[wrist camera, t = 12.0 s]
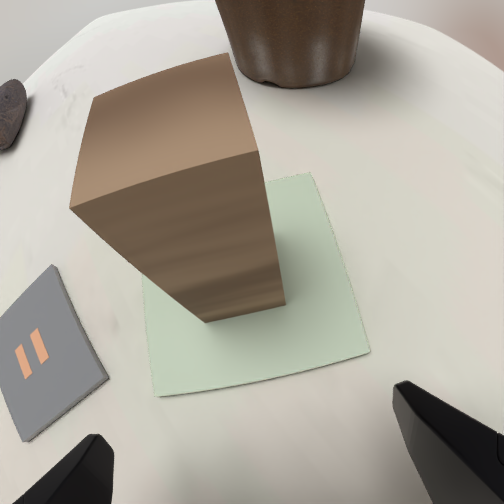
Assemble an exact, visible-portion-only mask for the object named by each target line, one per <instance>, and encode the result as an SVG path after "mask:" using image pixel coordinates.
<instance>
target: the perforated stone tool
mask: <svg viewBox="0 0 504 504" xmlns="http://www.w3.org/2000/svg"><path fill="white" fill-rule="evenodd" d="M26 104H27V96H26V90H25V88H24V86H23V84H22V83H21V82H20V81H18V80H16V79H13V80H9V81H7V82H6V83H4V84H3V85H2V86H0V150H4V149H5V148H8V147H10V145H11V144H12V142H13V140H14V139H15V137H16V135H17V133H18V131H19V129H20V126H21V123H22V120H23V117H24V113H25V109H26Z"/></svg>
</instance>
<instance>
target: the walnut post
mask: <svg viewBox="0 0 504 504" xmlns="http://www.w3.org/2000/svg"><path fill="white" fill-rule="evenodd" d="M69 208H70V209H71V210H72V211H73V212H74V213H75V214H76V215H77V216H78V217H79V218H80V219H81V220H82V221H83V222H84V223H85V224H87V225H88V226H89V227H90V228H91V229H92V230H93V231H94V232H95V233H96V234H98V235H99V236H100V237H101V238H102V239H103V240H104V241H105V242H106V243H108V244H109V245H110V246H111V247H112V248H113V249H114V250H115V251H117V252H118V253H119V254H120V255H121V256H122V257H124V258H125V259H126V260H127V261H128V262H129V263H131V264H132V265H133V266H134V267H135V268H136V269H138V270H139V271H140V272H141V273H142V274H144V275H145V276H146V277H147V278H148V279H150V280H151V281H152V282H153V283H154V284H156V285H157V286H158V287H159V288H161V289H162V290H163V291H164V292H166V293H167V294H168V295H169V296H171V297H172V298H173V299H174V300H176V301H177V302H178V303H179V304H181V305H182V306H183V307H184V308H186V309H187V310H188V311H190V312H191V313H192V314H193V315H195V316H196V317H197V318H199V319H200V320H201V321H203V322H204V323H208V322H213V321H218V320H222V319H227V318H232V317H236V316H241V315H246V314H250V313H254V312H259V311H263V310H268V309H272V308H276V307H280V306H285V305H286V301H285V295H284V289H283V283H282V277H281V272H280V266H279V260H278V254H277V249H276V243H275V237H274V232H273V226H272V221H271V215H270V210H269V204H268V199H267V193H266V188H265V183H264V177H263V172H262V167H261V162H260V156H259V151H258V147H257V144H256V141H255V137H254V134H253V131H252V127H251V124H250V121H249V117H248V114H247V111H246V108H245V104H244V101H243V98H242V95H241V92H240V88H239V85H238V82H237V79H236V76H235V73H234V70H233V66H232V63H231V60H230V57H229V54H228V53H223V54H219V55H215V56H211V57H207V58H204V59H200V60H196V61H193V62H189V63H186V64H183V65H179V66H176V67H173V68H170V69H167V70H164V71H161V72H158V73H155V74H152V75H149V76H146V77H143V78H141V79H138V80H135V81H133V82H130V83H127V84H125V85H122V86H120V87H117V88H115V89H113V90H110V91H108V92H105V93H103V94H101V95H99V96H96V97H94V99H93V102H92V105H91V109H90V112H89V116H88V120H87V123H86V127H85V131H84V135H83V139H82V143H81V148H80V152H79V157H78V161H77V166H76V171H75V176H74V182H73V187H72V193H71V200H70V206H69Z"/></svg>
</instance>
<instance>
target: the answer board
mask: <svg viewBox="0 0 504 504" xmlns="http://www.w3.org/2000/svg"><path fill="white" fill-rule="evenodd" d="M265 188H266V193H267V199H268V204H269V210H270V215H271V221H272V226H273V232H274V237H275V243H276V249H277V254H278V260H279V266H280V272H281V277H282V283H283V289H284V295H285V301H286V305H285V306H280V307H276V308H272V309H268V310H263V311H259V312H254V313H250V314H246V315H241V316H236V317H232V318H227V319H222V320H218V321H213V322H208V323H204V322H203V321H201V320H200V319H199V318H197V317H196V316H195V315H193V314H192V313H191V312H190V311H188V310H187V309H186V308H184V307H183V306H182V305H181V304H179V303H178V302H177V301H176V300H174V299H173V298H172V297H171V296H169V295H168V294H167V293H166V292H164V291H163V290H162V289H161V288H159V287H158V286H157V285H156V284H154V283H153V282H152V281H151V280H150V279H148V278H147V277H146V276H145V275H144V274H142V287H143V301H144V313H145V324H146V334H147V344H148V352H149V361H150V368H151V376H152V383H153V390H154V396H155V397H163V396H171V395H179V394H187V393H194V392H201V391H208V390H214V389H220V388H226V387H232V386H237V385H243V384H248V383H253V382H258V381H263V380H268V379H272V378H277V377H281V376H286V375H290V374H294V373H298V372H302V371H307V370H310V369H314V368H318V367H322V366H326V365H329V364H333V363H337V362H340V361H344V360H347V359H351V358H354V357H357V356H361V355H364V354H367V353H369V352H370V348H369V345H368V341H367V337H366V334H365V330H364V327H363V323H362V320H361V317H360V313H359V310H358V307H357V303H356V300H355V297H354V294H353V290H352V287H351V284H350V281H349V278H348V275H347V272H346V269H345V266H344V263H343V260H342V257H341V254H340V251H339V248H338V245H337V242H336V239H335V236H334V233H333V231H332V228H331V225H330V222H329V220H328V217H327V214H326V211H325V209H324V206H323V203H322V201H321V198H320V195H319V193H318V190H317V188H316V185H315V182H314V180H313V177H312V175H311V172H309V173H304V174H300V175H295V176H291V177H286V178H282V179H278V180H274V181H269V182H265Z"/></svg>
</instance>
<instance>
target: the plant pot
mask: <svg viewBox="0 0 504 504" xmlns="http://www.w3.org/2000/svg"><path fill="white" fill-rule="evenodd" d="M215 2H216V4H217V7H218V10H219V12H220V15H221V18H222V21H223V24H224V27H225V30H226V32H227V35H228V38H229V42H230V45H231V48H232V51H233V54H234V57H235V60H236V64H237V66H238V68H239V69H240V71H241V72H242V73H243V74H245V75H246V76H247V77H249V78H251V79H252V80H254V81H257V82H264V81H269V82H273V83H275V84H277V85H278V86H280V87H287V88H300V87H311V86H318V85H323V84H327V83H330V82H333V81H336V80H339V79H341V78H343V77H344V76H345V75H347V74H348V73H349V71H350V69H351V67H352V65H353V64H354V62H355V56H356V50H357V45H358V39H359V34H360V28H361V22H362V16H363V10H364V3H365V0H215Z"/></svg>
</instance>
